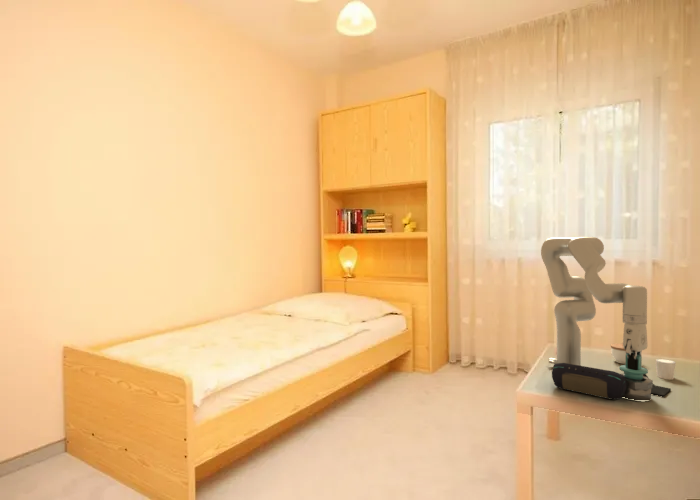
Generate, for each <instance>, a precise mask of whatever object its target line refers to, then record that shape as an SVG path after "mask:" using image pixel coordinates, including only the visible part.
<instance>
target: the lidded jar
mask: <svg viewBox="0 0 700 500" xmlns="http://www.w3.org/2000/svg"><path fill="white" fill-rule="evenodd" d="M631 350H632V349H631ZM610 352H611V356H612V358H613V359H614V360H615V362H616V363H618V364H623V365H626V350H625V349H624V347H623V343H612V344H610Z"/></svg>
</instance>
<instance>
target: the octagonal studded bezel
mask: <svg viewBox="0 0 700 500" xmlns="http://www.w3.org/2000/svg"><path fill="white" fill-rule="evenodd" d="M621 374H622V375H623V376H624V373H621ZM625 378H626V377H625ZM653 381H654V380H653V379H651V378H649V377H648V378H647V377H645V376H643V379H641V380H636V379H630V378H626V384H627V386H626V392H625V393H624V395H623V396H622V397H625V398H628V399H634V400H650V399H651V400H652V395H651V388H653V384H654V383H653Z"/></svg>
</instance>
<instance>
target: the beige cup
mask: <svg viewBox="0 0 700 500" xmlns="http://www.w3.org/2000/svg"><path fill="white" fill-rule="evenodd" d="M655 368H656V369H655V370H656V377H657V378H660V379H663V380H674V377H675V371H676V370H675V368H676V361H674V360H671V359H665V358H656V359H655Z"/></svg>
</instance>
